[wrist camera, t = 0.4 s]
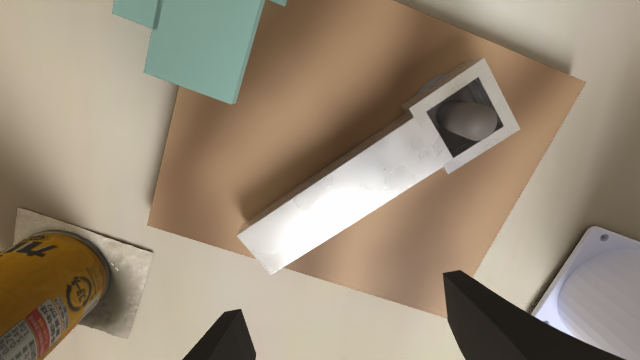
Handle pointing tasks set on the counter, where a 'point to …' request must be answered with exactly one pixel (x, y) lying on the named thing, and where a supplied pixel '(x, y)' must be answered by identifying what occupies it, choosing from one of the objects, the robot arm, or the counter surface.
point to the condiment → (64, 285)
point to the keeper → (198, 41)
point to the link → (374, 171)
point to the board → (359, 142)
